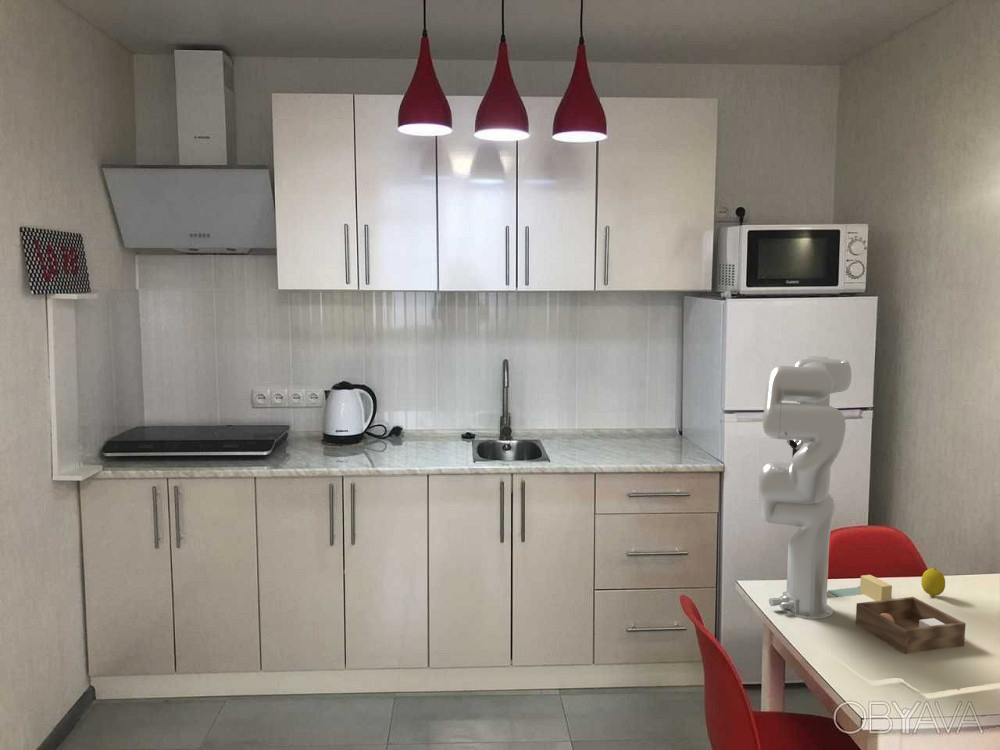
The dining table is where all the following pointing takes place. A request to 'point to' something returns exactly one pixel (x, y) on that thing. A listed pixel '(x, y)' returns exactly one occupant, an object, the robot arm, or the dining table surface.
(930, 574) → the lemon
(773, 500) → the robot arm
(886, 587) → the lid
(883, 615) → the ball
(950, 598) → the dining table surface
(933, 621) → the block
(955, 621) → the box
